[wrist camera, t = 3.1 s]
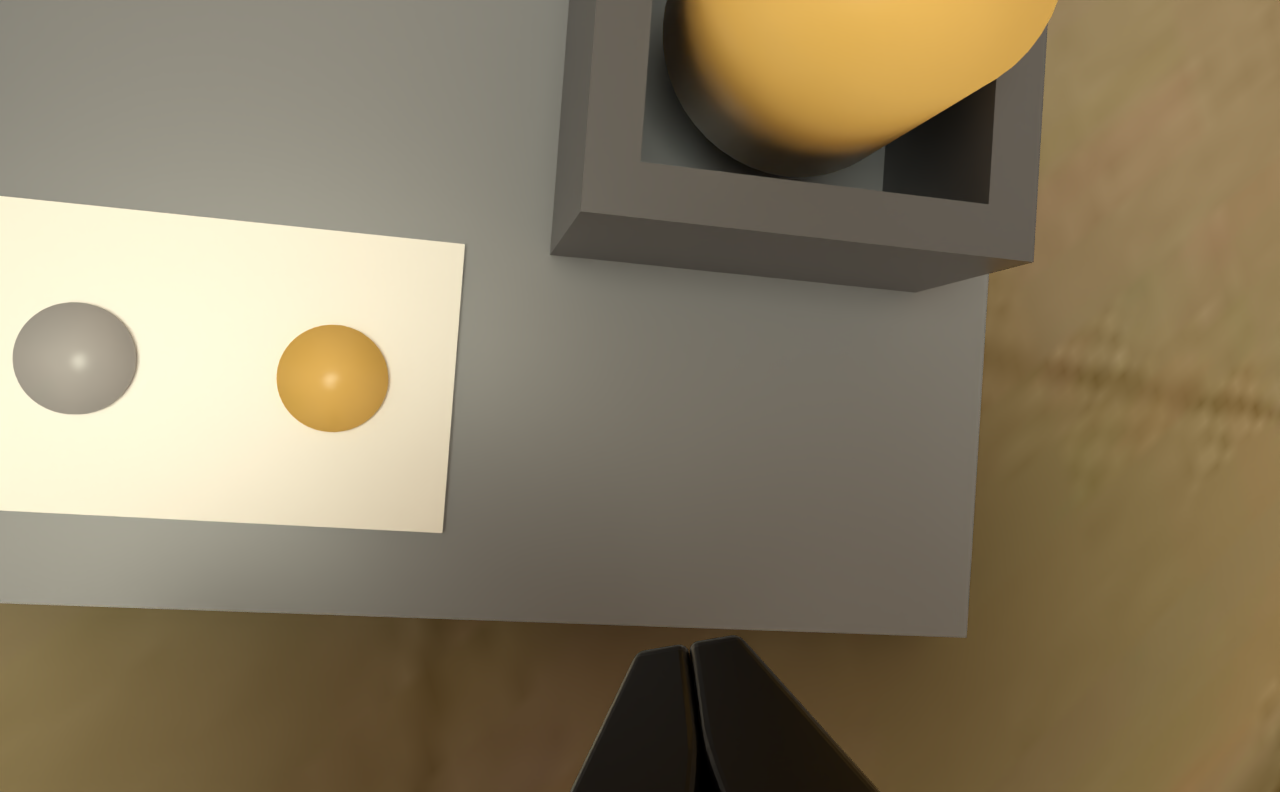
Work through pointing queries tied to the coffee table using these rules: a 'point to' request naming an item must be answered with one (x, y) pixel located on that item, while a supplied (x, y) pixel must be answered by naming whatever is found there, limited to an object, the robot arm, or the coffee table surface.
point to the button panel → (479, 325)
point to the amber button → (834, 70)
